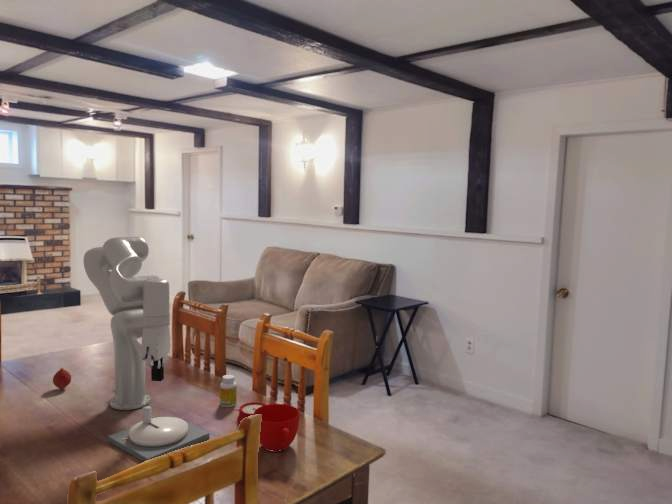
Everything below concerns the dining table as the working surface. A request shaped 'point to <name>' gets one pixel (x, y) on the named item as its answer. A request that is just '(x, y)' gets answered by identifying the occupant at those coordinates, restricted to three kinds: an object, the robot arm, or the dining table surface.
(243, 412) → the alarm clock
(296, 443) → the dining table surface
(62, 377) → the onion
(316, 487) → the dining table surface
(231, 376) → the supplement bottle
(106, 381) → the dining table surface
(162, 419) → the turntable
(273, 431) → the ceramic cup
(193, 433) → the base plate
